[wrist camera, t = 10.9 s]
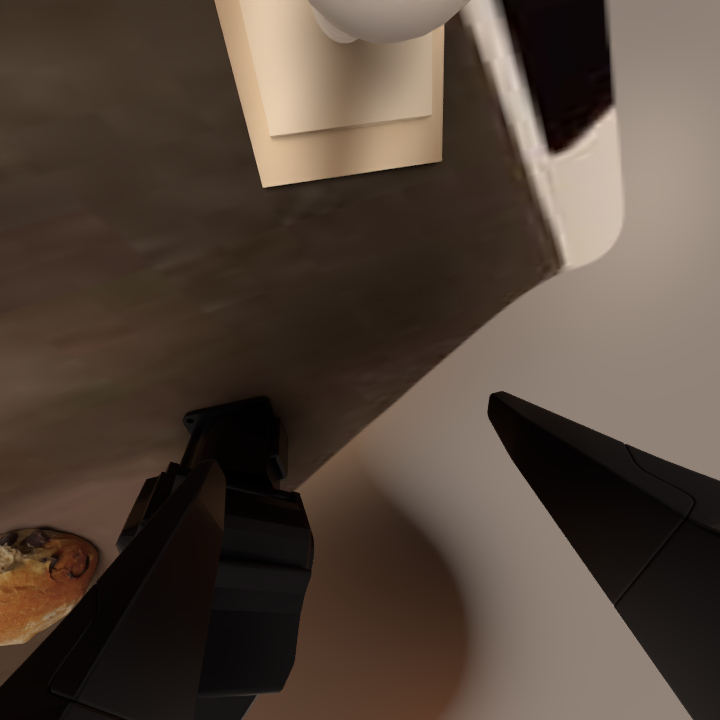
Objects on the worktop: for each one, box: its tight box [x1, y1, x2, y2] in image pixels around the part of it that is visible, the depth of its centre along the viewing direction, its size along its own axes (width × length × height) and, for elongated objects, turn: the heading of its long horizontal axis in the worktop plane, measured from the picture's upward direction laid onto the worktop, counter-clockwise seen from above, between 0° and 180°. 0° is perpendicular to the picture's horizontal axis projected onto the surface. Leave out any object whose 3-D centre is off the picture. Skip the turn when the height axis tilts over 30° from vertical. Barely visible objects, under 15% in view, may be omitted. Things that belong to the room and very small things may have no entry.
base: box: [215, 0, 444, 188], centre depth 13 cm, size 10×12×2 cm
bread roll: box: [0, 529, 98, 646], centre depth 26 cm, size 10×10×8 cm
